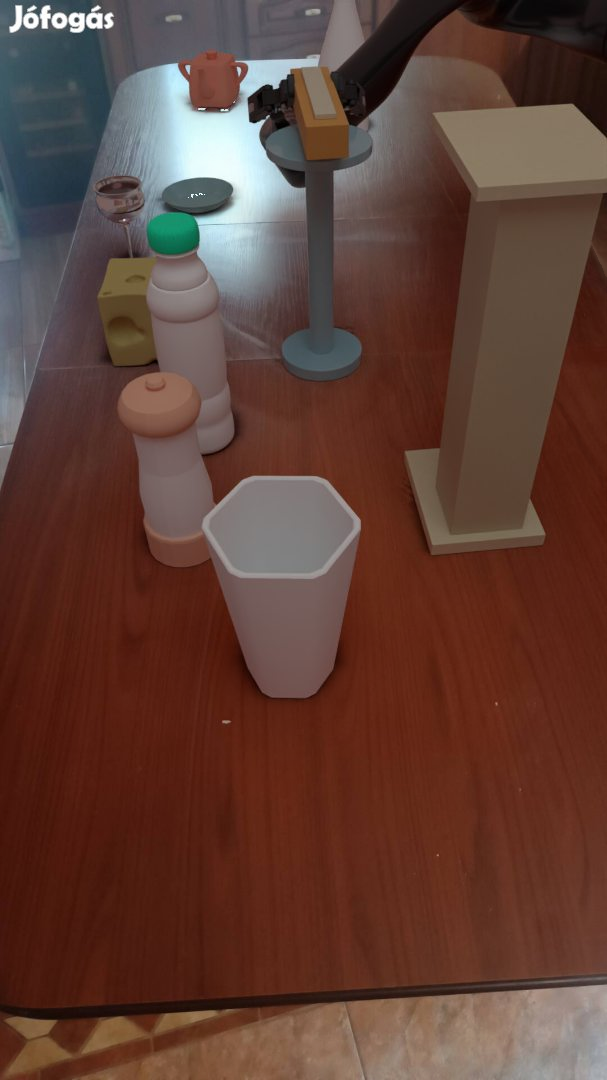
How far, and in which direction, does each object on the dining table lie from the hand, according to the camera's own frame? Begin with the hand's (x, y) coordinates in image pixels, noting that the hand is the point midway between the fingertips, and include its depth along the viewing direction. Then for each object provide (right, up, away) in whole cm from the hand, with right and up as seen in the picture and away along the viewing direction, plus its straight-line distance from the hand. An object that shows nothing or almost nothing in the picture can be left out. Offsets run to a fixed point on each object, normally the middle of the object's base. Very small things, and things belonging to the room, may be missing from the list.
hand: (313, 83), depth 81 cm
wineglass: (-26, -6, +38) cm, 46 cm away
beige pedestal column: (+16, -42, 0) cm, 45 cm away
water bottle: (-12, -35, +9) cm, 38 cm away
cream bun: (0, -5, 0) cm, 5 cm away
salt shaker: (-13, -47, -2) cm, 48 cm away
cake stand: (+1, -24, +19) cm, 31 cm away
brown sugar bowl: (-19, +44, +85) cm, 98 cm away
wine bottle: (+7, +32, +73) cm, 80 cm away
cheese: (-20, -21, +23) cm, 37 cm away
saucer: (-18, +9, +52) cm, 56 cm away
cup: (-2, -57, -13) cm, 59 cm away
